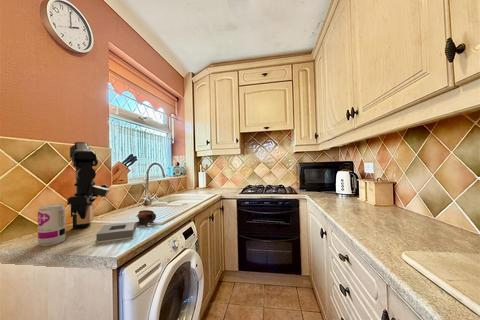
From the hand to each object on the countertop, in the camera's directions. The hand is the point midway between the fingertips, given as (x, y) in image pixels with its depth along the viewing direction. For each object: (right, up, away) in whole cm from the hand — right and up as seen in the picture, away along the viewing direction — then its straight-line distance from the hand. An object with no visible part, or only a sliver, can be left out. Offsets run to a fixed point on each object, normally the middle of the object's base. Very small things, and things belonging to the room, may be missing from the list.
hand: (85, 217), depth 88 cm
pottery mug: (+17, -9, +21) cm, 28 cm away
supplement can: (-11, -10, -3) cm, 15 cm away
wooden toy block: (0, -2, 0) cm, 2 cm away
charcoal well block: (+11, -9, +4) cm, 15 cm away
